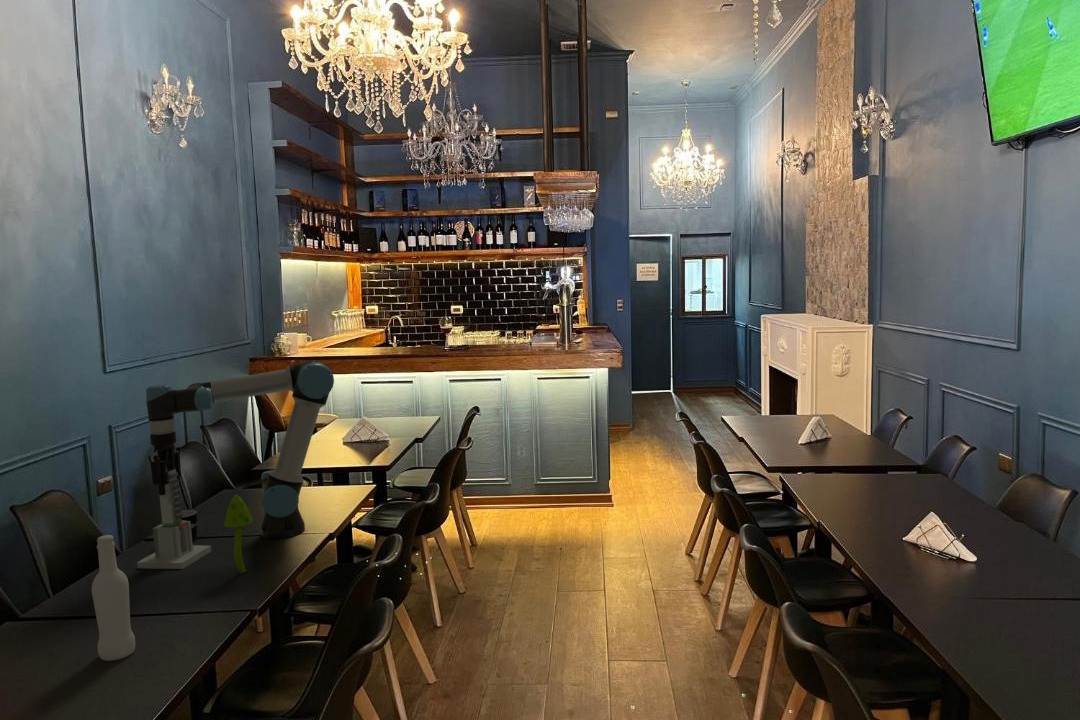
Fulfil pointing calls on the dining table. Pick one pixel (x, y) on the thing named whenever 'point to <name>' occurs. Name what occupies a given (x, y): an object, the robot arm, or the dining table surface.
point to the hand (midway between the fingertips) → (169, 501)
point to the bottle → (112, 605)
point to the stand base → (173, 548)
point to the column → (172, 502)
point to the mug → (191, 521)
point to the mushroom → (238, 526)
